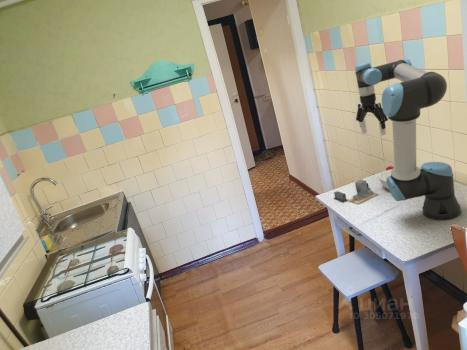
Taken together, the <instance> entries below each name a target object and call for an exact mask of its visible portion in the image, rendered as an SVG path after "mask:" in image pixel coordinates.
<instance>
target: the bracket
mask: <svg viewBox="0 0 467 350" xmlns="http://www.w3.org/2000/svg"><path fill="white" fill-rule="evenodd" d="M393 168H394V165H393V166H392V165H390V166H387V167H386V169H385V171H387V170H391V169H393Z"/></svg>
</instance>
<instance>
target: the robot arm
mask: <svg viewBox="0 0 467 350" xmlns="http://www.w3.org/2000/svg"><path fill="white" fill-rule="evenodd" d="M354 69H355V70H354V71H355V72H354V73H355V78H356V82H357V88H358V94H359V102H360V103H357V112H356V117H355V121H356V122H358V123H359V127H360V130H361V134H362V135H364V134H366V133H367V126H366V120H365V118H366V116H367V114H368V113H371V114H373V116H374V117H375V118H376V119H377V121H378V122H379V123H378V126H379V132H380V136H381V137H382V136H384V135H386V134H387V132H386V129H387V128H386V122H387V121H389V120H390V121H391V122H392V140H393V142H392V144H393V162H394V163H393V167H394V168H393V169H392V171H391V176H389V177H387V178H386V181H387V185H388V188H389V189H388V191H389V193H390V195H391V197H392V198H393V199H394V200H395V201H397V202H402V201H407V200H411V199H414V198H415V199H416V198H420V197H424V201H423V203H422V205H423V206H422V209H421V210H422V214H423V216H424V217H425V218H427V219H431V220H439V221H441V220H442V221H444V220H445V221H446V220H451V219H454V218H457V217H458V216H460V215H461V213H462V208H461V205H460V203H459V202H458V199H457V197H456V193H455V182H454V172H453V169H452V166H451V165H450V164H448V163H446V162H443V161H431V162H430V161H429V162H424V163H423V164H421V166H420V168H419V167H418V166H417V119H419V118H420V116H421V109H424V108H429V107H432V106H434V105H436V104H438V103H439V102H440V101H441V100H443V98H444V97H445V94H446V93H447V90H448V83H447V81H446V79H445V76H443V75H442V74H440V73H438V72H435V71H425V70H423V69H420V68H418V67H415V66H413V64H412V61H410V59H408V58H405V59H399V60H396V61H395V60H394V61H392V62H389V63H386V64H381V65H378V66H373V67H372V65H371V62H363V63H360V64H356V65H355V67H354ZM393 79H396V80H399V81H400V82H395V83H394V84H391V85H388V86H386V87H385V88H384V90H383V91H382V94H381V102H378V103H377V102H376V100H377V96H376V93H375V85H378V84H379V83H382V82H386V81H388V80H393Z"/></svg>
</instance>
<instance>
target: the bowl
mask: <svg viewBox="0 0 467 350" xmlns="http://www.w3.org/2000/svg"><path fill="white" fill-rule="evenodd" d="M391 171H392V169H391V170H387V171H386V170H385V171H383V172H381V173H380V174H379V175H378V180H379V181H380V184H382V185H383V187H385V188H386V189H388V190H389V188H388V185H387V181H386V178H387V177H389V176H391Z"/></svg>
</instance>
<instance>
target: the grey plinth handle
mask: <svg viewBox="0 0 467 350" xmlns="http://www.w3.org/2000/svg"><path fill="white" fill-rule="evenodd" d="M366 183H367V189H368V190H371V188H370V187H369V186H370V185H369V182H366ZM371 191H372V190H371ZM333 195H334V197H333V200H335V201H338V202H341V203H345V202H348V199H347V195H346V193H344V192H341V191H334V193H333Z"/></svg>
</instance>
